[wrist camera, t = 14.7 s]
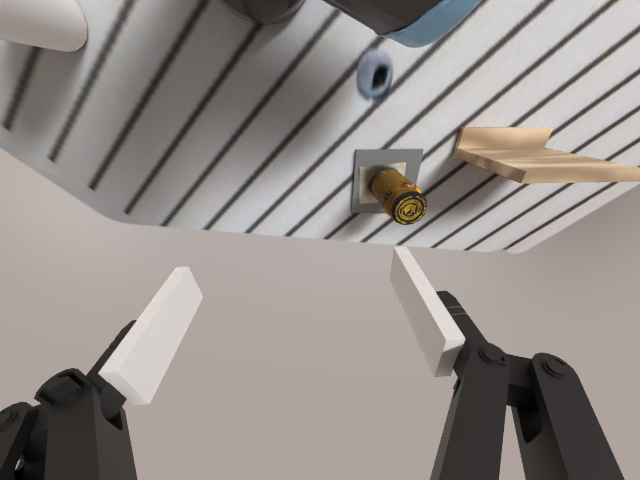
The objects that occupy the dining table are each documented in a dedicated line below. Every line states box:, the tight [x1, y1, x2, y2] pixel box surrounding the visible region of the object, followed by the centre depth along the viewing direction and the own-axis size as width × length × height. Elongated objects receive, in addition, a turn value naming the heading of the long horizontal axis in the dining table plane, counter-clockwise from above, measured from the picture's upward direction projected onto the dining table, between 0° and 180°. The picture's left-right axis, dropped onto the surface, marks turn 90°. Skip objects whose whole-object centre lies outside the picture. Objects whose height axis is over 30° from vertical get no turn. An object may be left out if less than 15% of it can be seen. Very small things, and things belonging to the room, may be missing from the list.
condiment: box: [359, 162, 427, 225], centre depth 39 cm, size 7×8×12 cm
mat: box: [351, 149, 423, 213], centre depth 45 cm, size 12×12×1 cm
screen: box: [452, 127, 640, 183], centre depth 36 cm, size 5×16×16 cm, turn 90°
